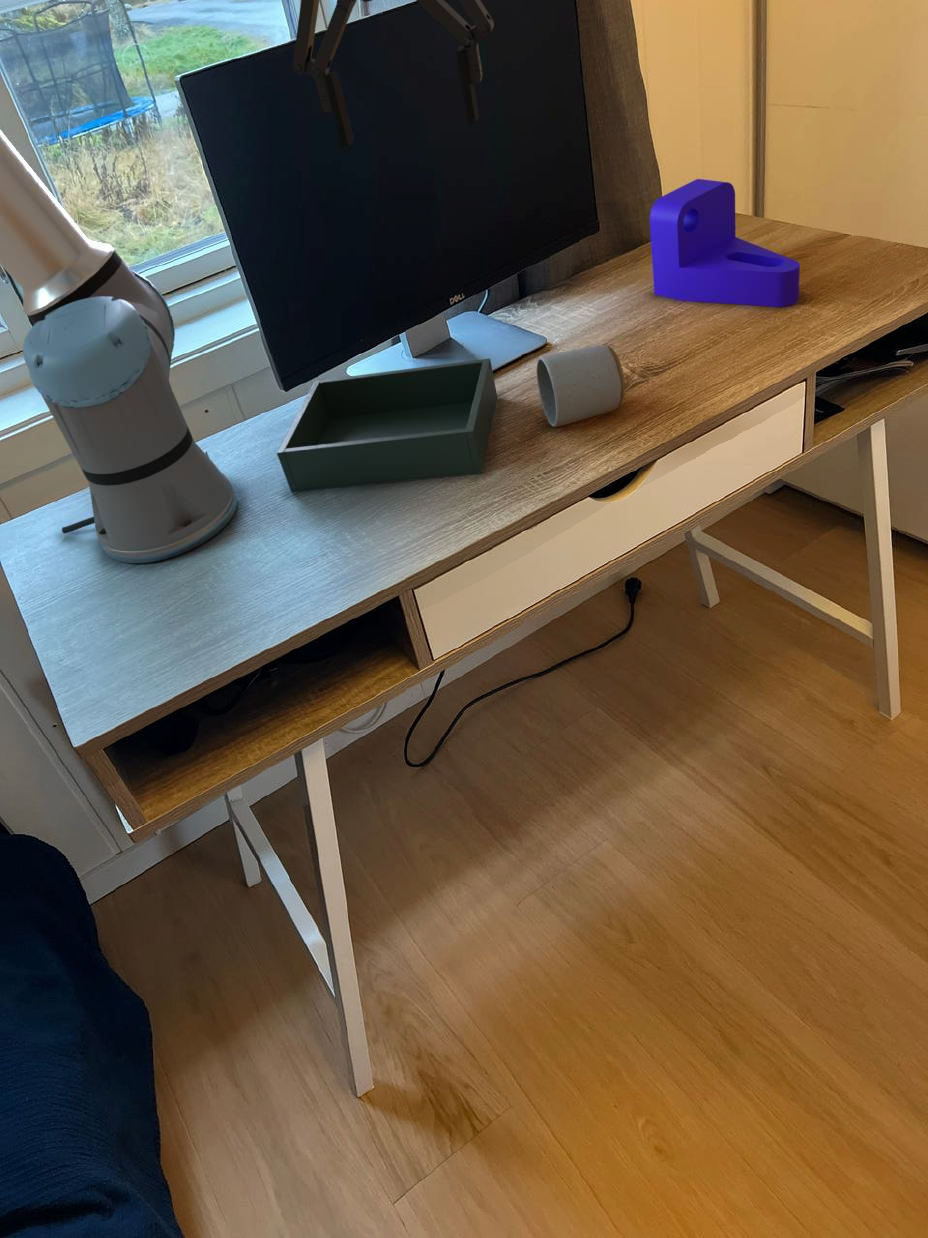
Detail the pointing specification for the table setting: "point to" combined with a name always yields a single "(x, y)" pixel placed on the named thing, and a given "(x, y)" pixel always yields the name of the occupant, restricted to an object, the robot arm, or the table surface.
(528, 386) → the table surface
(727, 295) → the bracket
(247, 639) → the table surface
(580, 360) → the ceramic mug
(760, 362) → the table surface
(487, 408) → the tote
